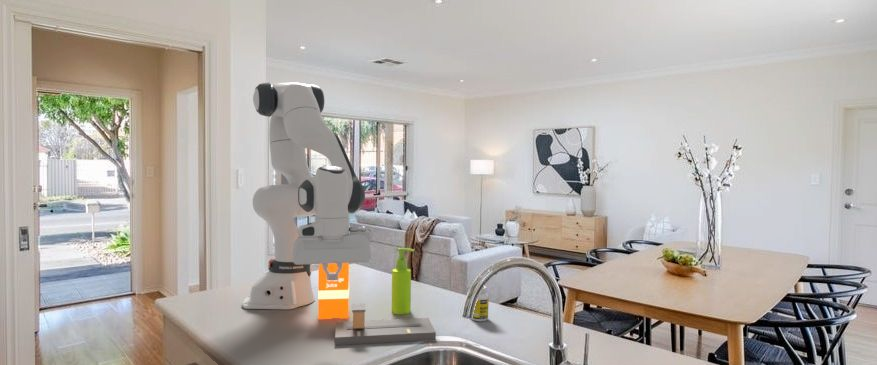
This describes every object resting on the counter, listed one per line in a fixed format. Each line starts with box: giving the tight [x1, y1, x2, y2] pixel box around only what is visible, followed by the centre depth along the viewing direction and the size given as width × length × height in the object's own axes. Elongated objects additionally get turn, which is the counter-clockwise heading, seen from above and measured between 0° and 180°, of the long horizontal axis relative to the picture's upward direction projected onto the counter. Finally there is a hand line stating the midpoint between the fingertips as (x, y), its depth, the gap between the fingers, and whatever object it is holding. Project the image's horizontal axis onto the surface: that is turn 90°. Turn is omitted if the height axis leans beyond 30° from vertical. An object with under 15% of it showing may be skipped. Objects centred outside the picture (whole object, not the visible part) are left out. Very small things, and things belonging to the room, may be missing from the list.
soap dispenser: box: [391, 247, 415, 316], centre depth 150 cm, size 6×7×20 cm
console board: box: [334, 317, 437, 346], centre depth 131 cm, size 26×12×2 cm, turn 100°
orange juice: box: [317, 263, 350, 320], centre depth 146 cm, size 8×9×20 cm
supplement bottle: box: [471, 285, 490, 322], centre depth 145 cm, size 5×5×10 cm
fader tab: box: [351, 303, 366, 329], centre depth 129 cm, size 3×5×5 cm, turn 11°
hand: (332, 280), depth 127 cm, fingers closed
